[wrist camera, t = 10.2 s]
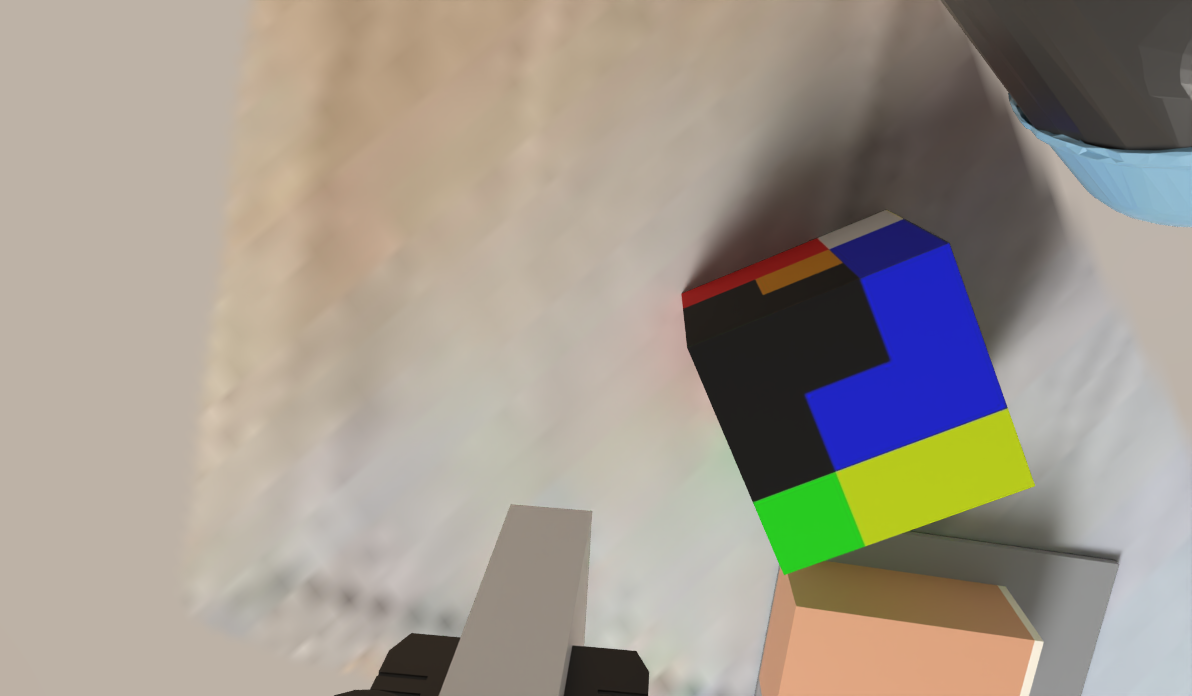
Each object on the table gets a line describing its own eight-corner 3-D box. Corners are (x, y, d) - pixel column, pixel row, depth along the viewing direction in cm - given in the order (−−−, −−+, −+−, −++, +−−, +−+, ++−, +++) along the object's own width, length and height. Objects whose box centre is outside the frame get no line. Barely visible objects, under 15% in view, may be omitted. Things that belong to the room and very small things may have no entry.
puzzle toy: (886, 209, 44) (949, 242, 35) (957, 403, 47) (1035, 485, 37) (681, 293, 46) (687, 347, 36) (758, 477, 48) (783, 575, 39)
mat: (789, 514, 48) (789, 518, 48) (1115, 560, 48) (1119, 564, 48) (752, 706, 51) (753, 711, 51) (1059, 751, 51) (1063, 757, 50)
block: (1006, 586, 48) (782, 554, 49) (1044, 642, 43) (796, 606, 44) (974, 709, 50) (758, 677, 50) (1007, 775, 45) (769, 740, 46)
